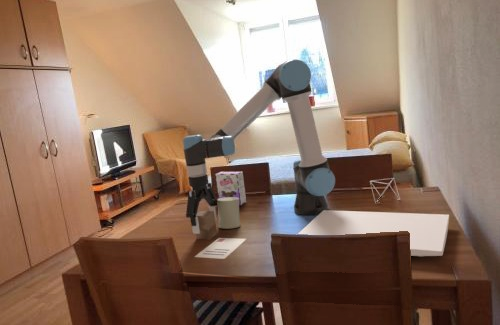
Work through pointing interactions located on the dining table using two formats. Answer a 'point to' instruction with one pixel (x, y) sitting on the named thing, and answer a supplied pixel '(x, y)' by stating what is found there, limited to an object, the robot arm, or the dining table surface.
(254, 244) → the dining table surface
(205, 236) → the block
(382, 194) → the geometric polyhedron
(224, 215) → the can
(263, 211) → the dining table surface
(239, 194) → the candy box
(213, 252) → the letter
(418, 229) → the board
